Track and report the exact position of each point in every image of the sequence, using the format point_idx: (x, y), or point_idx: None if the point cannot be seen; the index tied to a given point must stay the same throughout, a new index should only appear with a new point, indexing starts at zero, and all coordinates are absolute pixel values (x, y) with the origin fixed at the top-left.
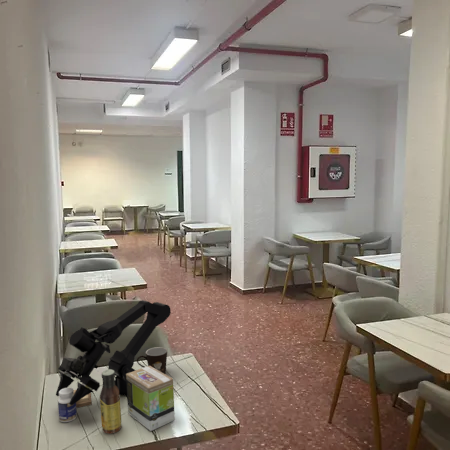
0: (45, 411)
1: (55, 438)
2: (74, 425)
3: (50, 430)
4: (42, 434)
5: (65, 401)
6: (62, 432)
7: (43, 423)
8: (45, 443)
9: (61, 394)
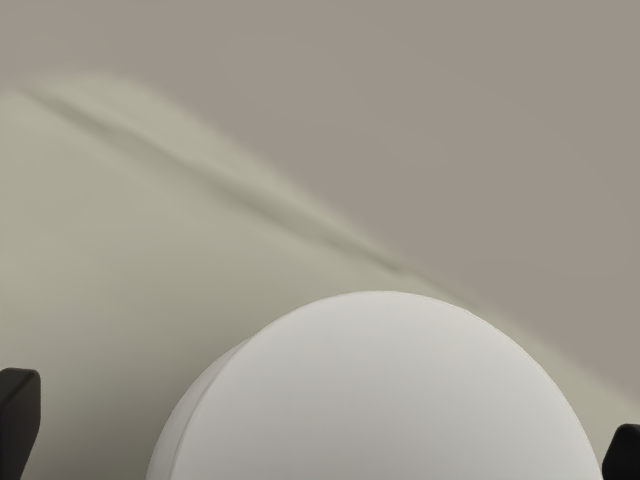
0: (631, 414)
1: (53, 177)
2: (58, 450)
3: (232, 232)
4: (239, 156)
5: (207, 379)
6: (75, 277)
7: (415, 267)
8: (78, 90)
9: (322, 299)
